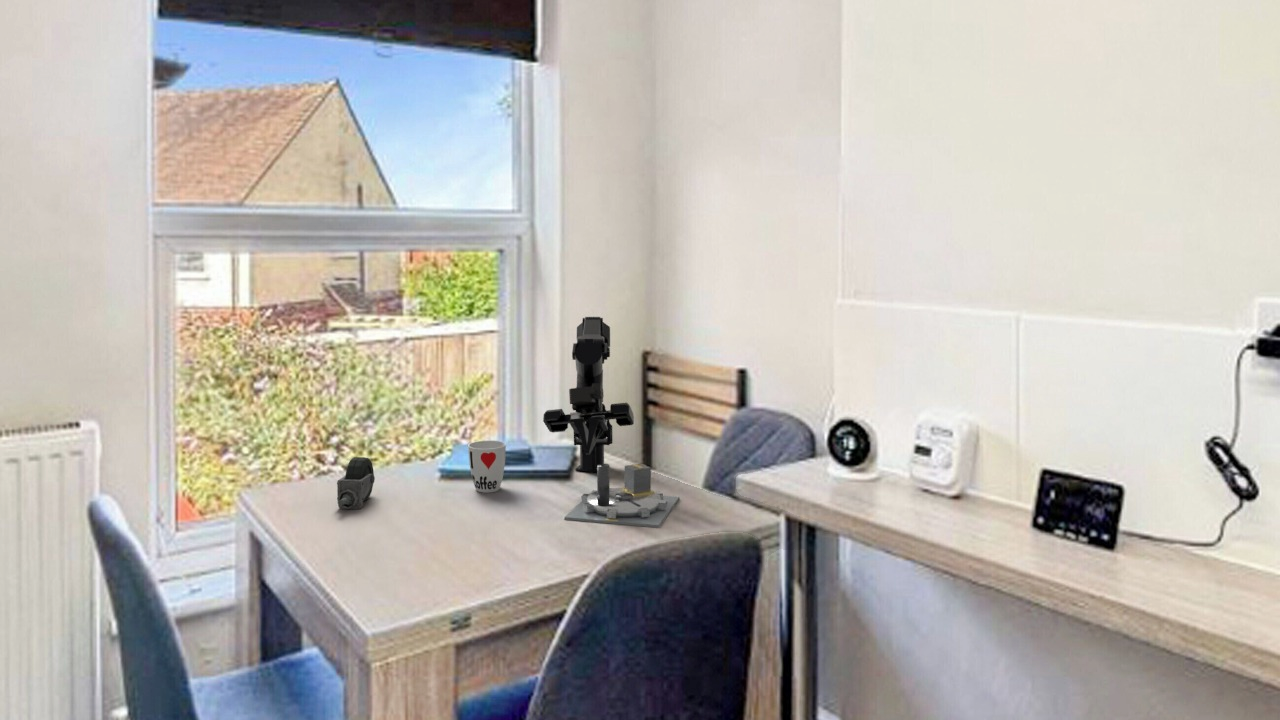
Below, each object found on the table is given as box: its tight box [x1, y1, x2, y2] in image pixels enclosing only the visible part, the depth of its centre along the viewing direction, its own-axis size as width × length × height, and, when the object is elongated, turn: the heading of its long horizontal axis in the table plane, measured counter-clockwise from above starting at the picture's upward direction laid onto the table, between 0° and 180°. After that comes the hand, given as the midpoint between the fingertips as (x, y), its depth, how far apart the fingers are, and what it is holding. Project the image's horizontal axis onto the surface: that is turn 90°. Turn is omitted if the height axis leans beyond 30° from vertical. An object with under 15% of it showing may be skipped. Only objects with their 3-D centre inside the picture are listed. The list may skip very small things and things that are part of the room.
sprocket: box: [580, 463, 667, 519], centre depth 184 cm, size 18×18×10 cm
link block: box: [624, 463, 652, 494], centre depth 189 cm, size 4×4×5 cm
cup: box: [467, 440, 507, 493], centre depth 197 cm, size 8×8×10 cm
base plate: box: [564, 489, 680, 529], centre depth 184 cm, size 19×19×1 cm
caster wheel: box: [336, 456, 376, 510], centre depth 187 cm, size 6×10×15 cm
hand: (587, 453), depth 190 cm, fingers closed
